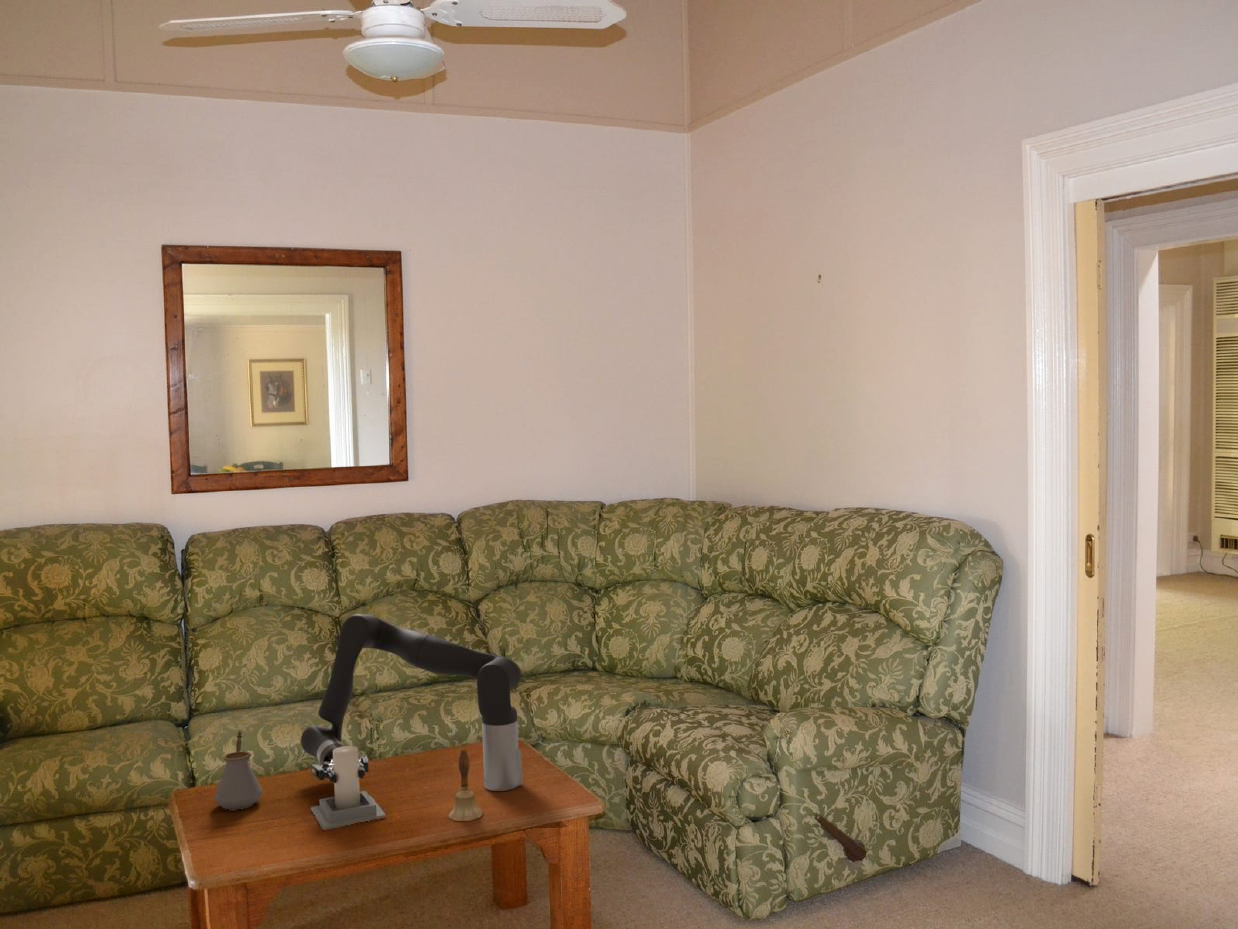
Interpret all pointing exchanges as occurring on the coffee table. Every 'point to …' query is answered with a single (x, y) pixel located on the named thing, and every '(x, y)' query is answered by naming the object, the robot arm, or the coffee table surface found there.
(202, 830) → the coffee table surface
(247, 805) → the coffee pot
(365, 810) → the candle dish
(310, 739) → the robot arm
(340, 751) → the candle
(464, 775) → the hand bell
